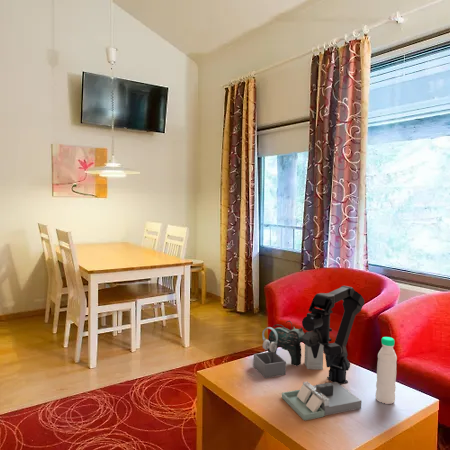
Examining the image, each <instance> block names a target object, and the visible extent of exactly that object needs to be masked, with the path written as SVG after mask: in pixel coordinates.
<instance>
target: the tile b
mask: <svg viewBox="0 0 450 450" xmlns="http://www.w3.org/2000/svg"><path fill="white" fill-rule="evenodd" d="M321 404H322V401H321V400H320V399H319V398H318V397H316V396H315V395H314V394H313V395H312V396H311V398H310V400H309V401H308V403H307V404H306V406H307V407H308V408H309V409H310V410H311V411H312V412H317V410H318V409H319V407H320V405H321Z"/></svg>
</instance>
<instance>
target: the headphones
mask: <svg viewBox="0 0 450 450" xmlns="http://www.w3.org/2000/svg"><path fill="white" fill-rule="evenodd" d="M266 330H271V331H273V332H274V334H275V336H276V342H271V344H270V341H269V340H268V339H267V338H266V337H265V332H266ZM261 332H262V333H261V336H262V341H263V343H262V349H264V350H265V352H264V353H266V352H267V351H268V349H270V351H271V352H275V351H276V349H277V350H278V348H277V341H278V334H277V332H276V331H275V328H274V327H273V328H272V327H271V326H268V327H266V328H264V329H263V330H262V331H261ZM276 352H277V351H276ZM266 354H267V353H266ZM267 355H268V354H267ZM268 357H269V356H268ZM269 358H270V357H269ZM270 362H271V360H270ZM269 364H270V363H269Z"/></svg>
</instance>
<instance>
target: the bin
mask: <svg viewBox="0 0 450 450" xmlns="http://www.w3.org/2000/svg"><path fill="white" fill-rule="evenodd" d="M299 391H300V389H295V390H290V391H284V392H281V398H282V400H283V401H284V402H285V403H286V404H287V405H288V406H289V407H290V408H291V409H292V410H293V411H294V412H295V413H296V414H297V415H298V416H299V417H300V418H301V419H302V420H303V421H310V420H314V419H320V418H324V417H325V416H326V415H325V411H324V410H323V409H322V408H321V407H319V409H318V410H317V412H312V411H311V410H310V409H309V408H308V407H307V406H306V404H307V403H308V401H309V400H310V398H308V400H307V402H306V403H303V402H302V401H301V400H300V399H299V398H298V397H297V394H298V392H299Z"/></svg>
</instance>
